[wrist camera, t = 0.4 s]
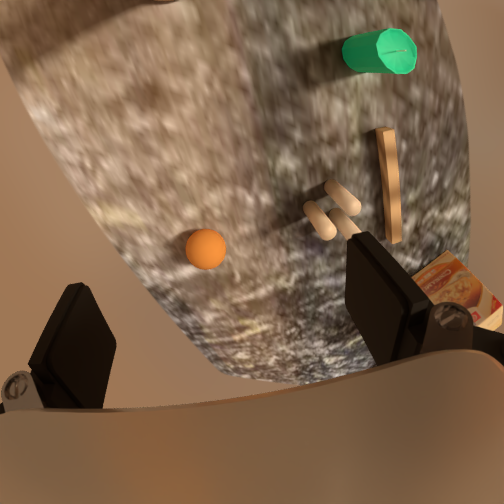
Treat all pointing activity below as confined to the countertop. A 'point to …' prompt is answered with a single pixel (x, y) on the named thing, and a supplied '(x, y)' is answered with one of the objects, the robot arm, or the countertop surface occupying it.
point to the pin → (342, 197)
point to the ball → (205, 249)
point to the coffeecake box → (459, 290)
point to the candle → (380, 52)
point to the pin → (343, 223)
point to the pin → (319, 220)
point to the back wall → (390, 182)
